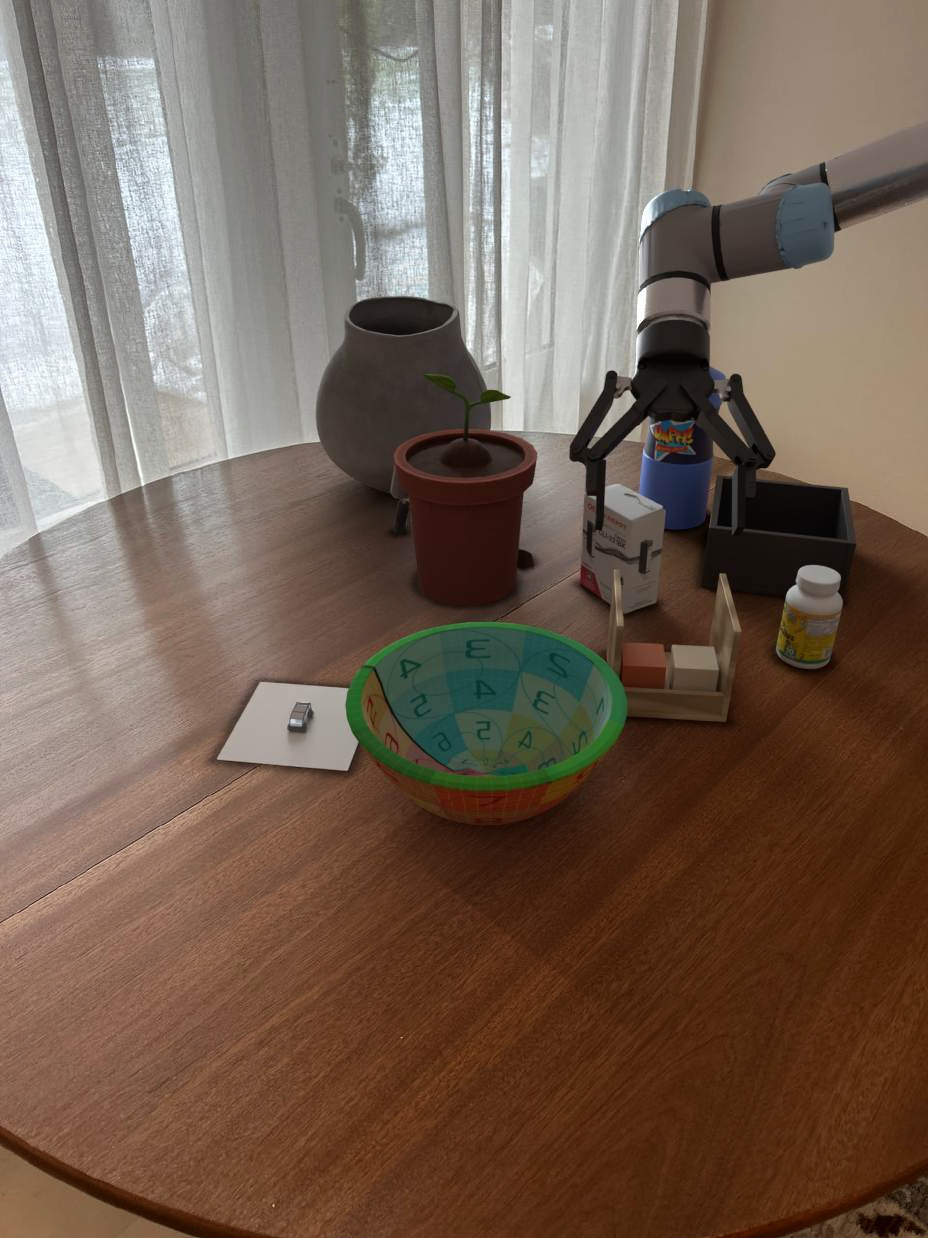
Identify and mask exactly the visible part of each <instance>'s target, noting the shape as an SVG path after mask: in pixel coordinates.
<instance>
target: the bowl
mask: <svg viewBox="0 0 928 1238" xmlns="http://www.w3.org/2000/svg"><path fill="white" fill-rule="evenodd" d="M348 688H349V689H348V692H347V698H346V704H345V706H346V715H347V721H348V723H349V726H350V728H351V731H352V733H353V735H354V736H355V738H356V739H357V741H358V744H359V745H360V746H361V748H362V749H363V750H364V752H366V754H367V756H368V757H369V758H370V760H371V761H372V763H373V764H375V765H376V766H377V767H378V768H379V769H380V771H381V772H382V774H383V776H384V777H385V778H386V780H388V782H389V783H390V784H391V785H392V786H393V787H395V789H397V791H398V792H400V794H401V795H403V796H404V797H405V798H406V799H408V800H409V801H411V802H412V803H413V804H415V805H416V806H418V807H420V808H422V809H424V810H426V811H427V812H430V813H432V814H434V815H436V816H438V817H440V818H444V819H447V820H449V821H453V822H456V823H462V824H466V825H477V826H499V825H507V824H512V823H517V822H521V821H525V820H528V819H530V818H532V817H535V816H537V815H539V814H542V813H544V812H546V811H548V810H550V809H552V808H554V807H555V806H557V805H559V804H560V803H562V802H563V801H564V800H565V799H567V798H568V797H570V795H571V794H573V793H574V792H575V791H576V790H577V789H578V788H580V787H581V785H582V784H583V783H584V782H585V781H586V780H587V778H588V777H589V776H590V775H591V774H592V772H593V770H595V768H596V767H597V766H598V765H599V764H600V763H601V762H602V760H603V759H604V758H605V757H606V755H607V753H608V752H609V751H610V749H611V748H612V747H613V746H614V745H615V744H616V742H617V741H618V739H619V738H620V735H621V733H622V732H623V731H624V728H625V724H626V720H627V717H628V716H627V698H626V694H625V691H624V687H623V685H622V683H621V681H620V680H619V678H618V676H617V674H616V673H615V672H614V671H613V669H612V668H611V667H610V666H609V665H608V664H607V661H605V660H604V659H603V658H602V657H600V655H598V654H597V653H596V652H595V651H593V650H591V649H589V648H588V647H587V646H585V645H583V644H582V643H580V642H578V641H576V640H574V639H571V638H569V637H567V636H566V635H562V634H560V633H558V632H557V633H556V632H555V631H550V630H549V629H544V628H540V627H535V626H531V625H526V624H519V623H513V622H499V621H469V622H460V623H451V624H445V625H440V626H435V627H431V628H427V629H424V630H420V631H417V632H415V633H412V634H409V635H407V636H404V637H401V638H399V639H398V640H396V641H394V642H392V643H390V644H388V645H386V646H384V647H383V648H382V649H381V650H379V651H378V652H376V653H375V654H373V655H372V656H371V657H370V658H369V659H368V660H367V661H366V662H364V663H363V665H362V666H361V667H360V668H359V669H358V671H357V672H356V674H355V675H354V676H353V678H352V680H351V682H350V685H349V687H348Z"/></svg>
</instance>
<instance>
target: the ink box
mask: <svg viewBox="0 0 928 1238" xmlns="http://www.w3.org/2000/svg"><path fill="white" fill-rule="evenodd" d="M595 510H596V496H587V495H586V493H584V495H583V511H582V512H583V514H582V532H581V557H580V573H579V584H580V585H581V586H583V587H584V588H586V589H587V590H589V591H590V592H592V593H593V594H595V595H596V596H598V597H599V598H601V600H604V601H605V602H606V603H608V604H609V605H611V596H612V584H613V572H614V569H619V570H620V579H621V593H622V606H623V615H624V614H625V615H626V614H628V613H631V612H634V611H636V610H639V609H642V608H645V607H648V606H651V605H654V604H657V600H658V590H659V581H660V572H661V561H662V552H663V550H662V549H663V542H664V541H663V540H664V531H665V529H664V524H665V515H666V511H665V510H664V509H663V506H662V505H659V504H657V503H655V502H654V501H652V500H650V499H647V498H646V497H644V496H642V495H640V494H639V492H635V491H634V490H633V489H630V488H629V487H626V486H625V485H623V484H620V483H615V484H611V485H608V486H605V503H604V523H603V528H602V530H595Z"/></svg>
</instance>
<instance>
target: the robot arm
mask: <svg viewBox="0 0 928 1238" xmlns="http://www.w3.org/2000/svg"><path fill="white" fill-rule="evenodd" d="M927 199H928V118H926V119H923V120H921V121H919V122H916V123H914V124H912V125H909V126H906V127H904V128H901V129H899V130H897V131H894V132H892V133H890V134H889V133H888V134H887V135H884V136H882V137H880V138H877V139H874V140H872V141H870V142H868V143H865V144H862V145H860V146H858V147H855V148H852V149H850V150H847V151H845V152H843V153H840V154H838V155H836V156H833V157H831V158H828V159H826V160H825V161H822V162H820V163H817V164H814V165H811V166H809V167H806V168H804V169H802V170H799V171H797V172H794V173H789V172H788V173H786V174H785V173H784V174H783V175H781V176H778V177H776V178H774V179H772V180H770V181H768V182H767V183H766V185H765V186H763V187H762V188H761V189H760V190H759V192H758V193H757V195H756V196H752V197H747V198H744V199H739V200H736V201H732V202H728V203H725V204H718V205H715V204H714V205H712V203H711V201H710V199H709V198H708V197H707V196H706V195H705V194H704V193H702V192H700V191H698V190H696V189H692V188H690V189H688V190H686V191H685V190H682V189H681V188H678V187H677V188H671V189H668V190H666V191H663V192H661V193H659V194H657V195H656V196H654V197H653V198H652V199H651V200H650V201H649V202H648V203H647V205H646V206H645V208H644V210H643V213H642V217H641V223H640V224H641V226H640V236H639V239H638V244H637V250H638V291H637V293H638V294H637V315H636V334H637V337H636V342H635V345H636V346H635V367H634V370H635V372H634V374H633V376H632V377H629V376H622V375H621V376H620V375H618V373H617V371H615V370H612V369H611V370H608V371H607V372H606V374H605V377H604V383H603V384H604V385H603V390H602V391H601V392H600V394H599V396H598V398H597V399H596V401H595V403H594V404H593V406H592V408H591V409H590V411H589V413H588V414H587V416H586V417H585V419H584V421H583V423H582V424H581V425H580V428H579V429H578V431H577V433H576V434H575V437H574V438H573V439H572V441H571V442H570V445H569V452H568V458H569V460H570V461H571V462H573V463H581V464H582V465H584V467H585V483H584V492H585V494H586V495H587V496H596V510H595V530H602V528H603V523H604V503H605V487H606V480H607V479H606V478H607V477H606V476H607V471H606V470H607V459H606V458H607V457H608V456H609V455H610V454H611V453H612V452H613V451H614V450H615V449H616V448H617V447H618V446H619V445H620V444H621V443H622V442H623V441H624V440H625V439H626V438H627V437H628V436H629V435H630V434H631V432H632V431H634V430H635V429H636V428H637V427H639V426H640V425H641V424H642V423H644V421H645V420H646V419H647V418H648V416H649V417H650V418H652V419H655V421H658V422H663V421H667V420H672V421H675V422H685V421H686V420H688V419H692V420H693V421H694V423H695V424H696V425H697V426H698V427H699V428H702V429H703V430H704V431H705V432H706V433H707V434H708V435H709V436H710V437H711V439H712V440H713V443H715V445H716V446H717V447H718V448H719V449H720V450H721V451H722V452H723V454H724V455H725V456H726V457H727V458H728V459H729V460H730V461H731V462H732V464H734V466H735V469H734V471H733V472H732V475H731V477H732V536H740V535H741V533H742V532H743V530H744V528H745V502H751V501H752V500H753V498H754V496H755V494H756V479H757V471H758V470H761V469H763V470H766V469H768V468H769V467H770V465H771V464H772V462H773V461H774V459H775V457H776V454H777V452H776V450H775V448H774V446H773V444H772V442H771V441H770V439H769V437H768V436H767V433H766V432H765V430H764V428H763V427H762V425H761V422H760V420H759V419H758V417H757V415H756V413H755V412H754V410H753V408H752V406H751V404H750V402H749V400H748V399H747V397H746V395H745V392H744V385H743V383H744V382H743V378H742V376H741V375H740V374H739V373H732V374H731V375H730V377H729V378H726V379H721V380H713V378H712V376H711V374H710V366H711V335H710V332H711V331H710V330H711V297H712V295H711V293H712V291H711V289H712V288H711V287H712V284H716V283H720V282H727V281H730V280H735V279H740V278H746V277H751V276H758V275H762V274H768V273H773V272H774V273H775V272H778V271H785V270H791V269H794V270H799V269H802V268H803V267H804V266H808V265H812V264H816V263H820V262H824V261H826V260H828V259H829V258H830V257H832V255H833V253H834V250H835V234H836V233H837V232H840V231H842V230H845V229H848V228H850V227H853V226H856V225H859V224H862V223H864V222H867V221H869V220H872V219H875V218H878V217H880V216H883V215H885V214H890V213H891V212H894V211H897V210H900V209H903V208H905V207H908V206H912V205H914V204H916V203H918V202H922V201H925V200H927ZM627 391H629V392H630V394H631V396H632V397H633V398H634V399H635V401H634V402H633V403H632V404H631V406H630V408H629V409H627V411H626V412H625V413H624V414H623V415H622V416H621V417H620V418H619V419H618V420H617V421H616V422H615V423H614V424H613V425H612V426H611V427H610V428H609V429H608V430H607V431H606V432H605V433H604V434H603V435H602V436H601V437H600V438H599V439H598V440H597V441H596V442H595V443H594V444H593V445H592V446H591V447H589V446H590V443H591V442H592V441H593V439H594V438H595V435H596V433H597V432H598V430H599V428H600V427H601V426H602V423H603V422H604V420H605V418H606V417H607V415H608V414H609V412H610V410H611V408H612V406H613V403H614V401H615V400H618V399H620V398H622V397H623V395H624V393H625V392H627ZM712 393H717V394H718V395H719V396H720V399H721V400H722V401H723V402H722V403H726V405H727V409H728V411H729V413H730V415H731V417H732V419H733V420H734V422H735V424H736V426H737V428H738V430H739V432H740V434H741V435H742V437H743V439H744V441H745V442H744V441H743V439H742V438H741V437H740V436H739V435H738V434H737V433H736V432H735V431H734V429H733V428H732V427H731V426H730V425H729V424H728V423H727V422H726V420H724V418H722V416H721V415H720V414H718V413H717V412H716V411H715V408H714V406H713V404H712V403H711V402H710V401H709V400H708V399H709V397H710V396H711V395H712Z"/></svg>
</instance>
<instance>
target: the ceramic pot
mask: <svg viewBox="0 0 928 1238" xmlns="http://www.w3.org/2000/svg"><path fill="white" fill-rule="evenodd" d="M460 317H461V316H460V311H459V309H458V307H457V306H456V305H455V304H454V303H451V302H447V301H442V300H441V301H439V300H436V299H435V300H433V299H427V298H425V297H420V296H413V295H385V296H383V295H382V296H381V295H380V296H371V297H366V298H364V299H360V300H358V301H356V302H354V303H352V304H351V305H350V306H348V308H347V309H346V310H345V311H344V314H343V331H344V333H343V334H344V335H343V339H342V340H341V342H340V344H339V346H338V347H337V348H336V349H335V351H334V352H333V354H332V355H331V357H330V359H329V361H328V362H327V364H326V367H325V369H324V371H323V373H322V376H321V379H320V382H319V385H318V389H317V394H316V401H315V424H316V431H317V435H318V439H319V441H320V444H321V446H322V448H323V450H324V451H325V453H326V455H327V456H328V458H329V459H330V460H331V461H332V463H334V465H336V467H337V468H339V469H340V470H341V471H343V472H344V473H345V474H346V475H348V476H349V477H351V478H353V479H354V480H356V481H357V482H359V483H361V484H362V485H365V486H368V487H370V488H371V489H375V490H378V491H380V492H383V493H386V494H391V492H390V489H391V483H392V477H393V471H394V465H395V461H394V453H395V451H396V450H397V448H398V447H399V446H400V445H402V444H403V443H405V442H406V441H408V440H409V439H412V438H415V437H418V436H421V435H423V434H427V433H433V432H438V431H443V430H456V429H464V425H465V412H466V407H465V402H464V401H463V399H462V398H460V397H459V396H457V395H455V394H453V393H450V392H448V391H446V390H445V389H443V388H441V387H440V386H438V385H436V384H434V383H433V382H431V381H429V380H428V379H426V378H425V377H424V376H423V374H436V375H445V376H448V377H450V378H452V379H453V381H454V382H455V384H456V389H455V391H457V392H459V393H461V394H463V395H464V396H465V397H466V398H467V400H468V402H469V404H471V403H473V402H477V401H480V396H481V395H482V393H483V392H484V391H486V390H488V388H487V387H488V386H487V384H486V382H485V379H484V377H483V375H482V372H481V370H480V368H479V365H478V363H477V362H476V360H475V358H474V357H473V355H472V353H471V352H470V351H469V349H468V348H467V346H466V344H465V341H464V339H463V337H462V328H461V326H462V325H461V318H460ZM468 429H480V430H491V429H492V405H491V402H490V403H484V404H478V405H475V406H473V407H472V408H471V409H470V410H469V426H468ZM491 431H492V430H491ZM391 495H392V494H391Z"/></svg>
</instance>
